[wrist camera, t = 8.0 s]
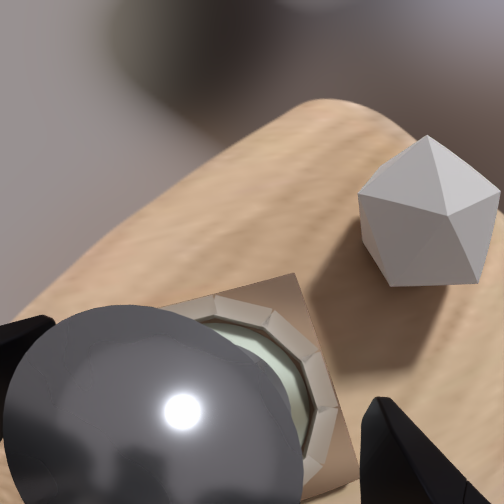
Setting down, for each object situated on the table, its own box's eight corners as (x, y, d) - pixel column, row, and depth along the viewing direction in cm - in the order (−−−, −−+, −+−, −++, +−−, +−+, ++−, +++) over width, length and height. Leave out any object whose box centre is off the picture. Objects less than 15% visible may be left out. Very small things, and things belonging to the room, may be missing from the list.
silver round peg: (303, 458, 13) (432, 569, 2) (166, 489, 12) (36, 611, 1) (263, 330, 16) (303, 177, 5) (131, 362, 15) (-49, 277, 4)
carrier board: (354, 472, 14) (367, 480, 12) (145, 521, 12) (135, 533, 10) (291, 280, 18) (296, 266, 17) (94, 329, 17) (79, 321, 15)
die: (370, 334, 18) (525, 303, 11) (298, 209, 16) (472, 128, 9) (401, 261, 23) (513, 226, 16) (350, 164, 22) (465, 107, 14)
